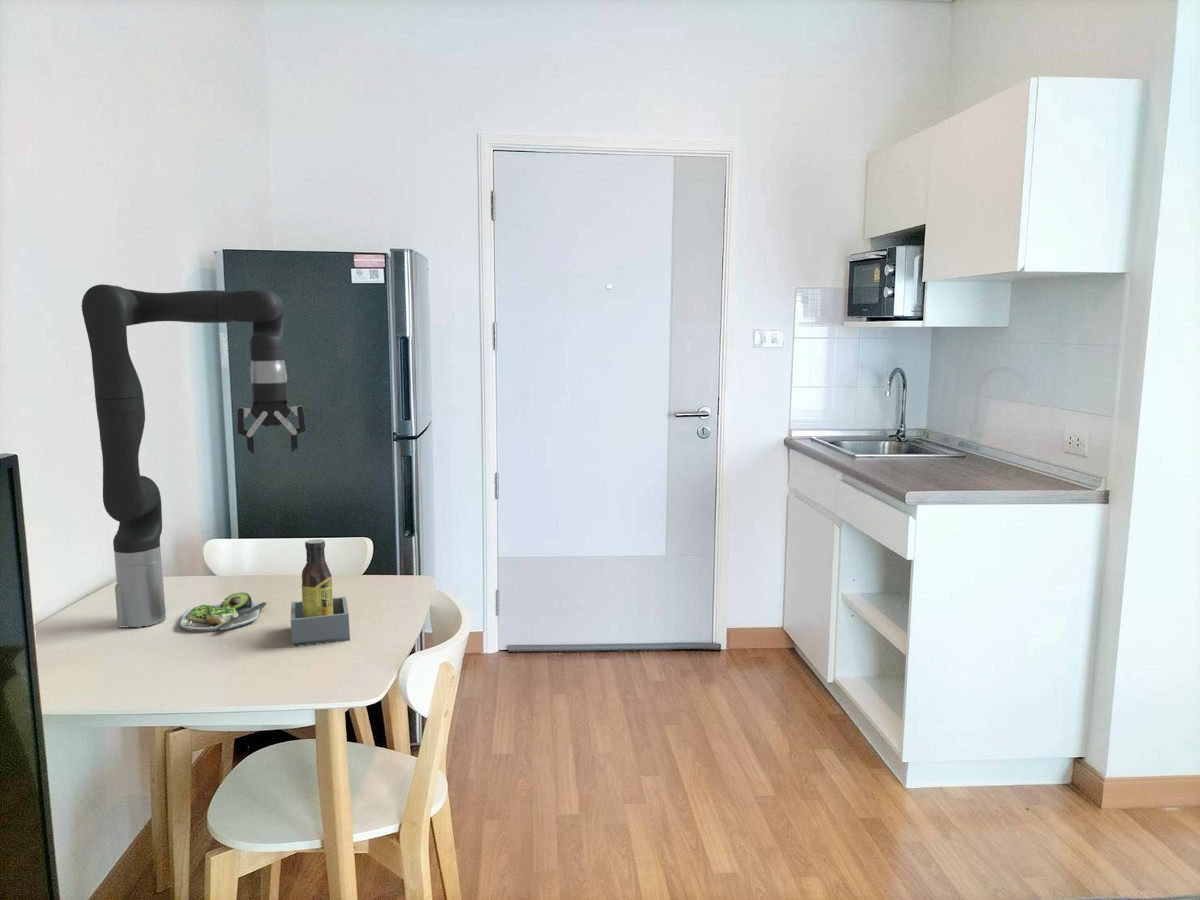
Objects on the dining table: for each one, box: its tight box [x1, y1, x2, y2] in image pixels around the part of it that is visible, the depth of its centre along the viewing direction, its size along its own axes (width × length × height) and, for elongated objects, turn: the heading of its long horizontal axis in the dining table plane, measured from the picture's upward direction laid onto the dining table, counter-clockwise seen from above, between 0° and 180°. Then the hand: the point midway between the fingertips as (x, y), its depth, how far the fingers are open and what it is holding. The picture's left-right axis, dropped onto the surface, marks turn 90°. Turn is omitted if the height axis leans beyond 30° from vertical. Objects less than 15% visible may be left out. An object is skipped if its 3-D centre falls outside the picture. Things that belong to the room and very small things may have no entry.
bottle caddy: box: [290, 596, 351, 647], centre depth 187 cm, size 12×13×6 cm
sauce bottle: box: [301, 538, 334, 618], centre depth 186 cm, size 7×6×20 cm
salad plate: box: [179, 592, 267, 633], centre depth 196 cm, size 19×18×5 cm
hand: (273, 452), depth 196 cm, fingers open, 8 cm apart
